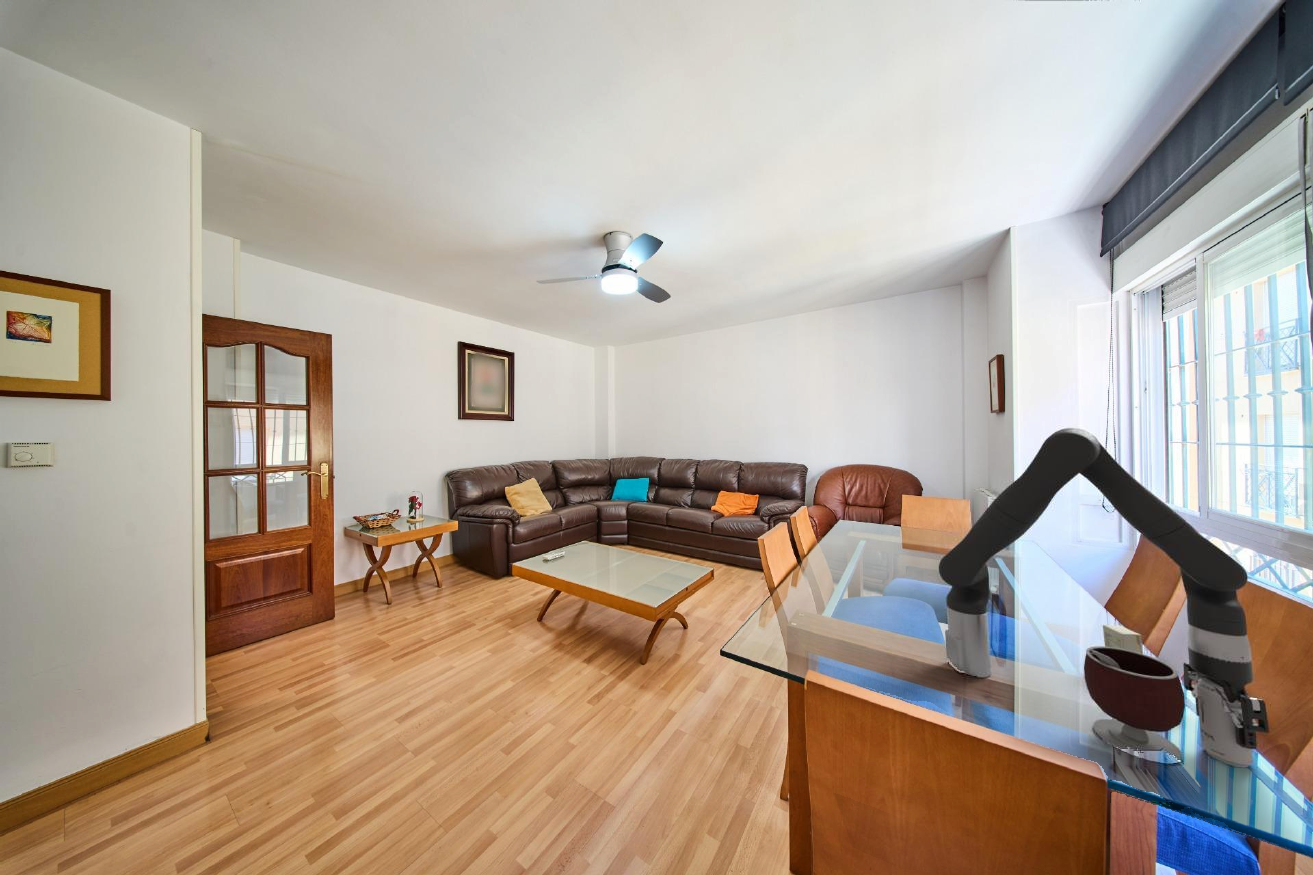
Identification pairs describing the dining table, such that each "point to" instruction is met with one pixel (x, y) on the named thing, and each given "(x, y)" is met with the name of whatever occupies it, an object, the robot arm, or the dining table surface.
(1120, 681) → the mate gourd
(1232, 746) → the energy drink can
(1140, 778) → the dining table surface
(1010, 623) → the dining table surface
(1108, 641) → the skincare box
